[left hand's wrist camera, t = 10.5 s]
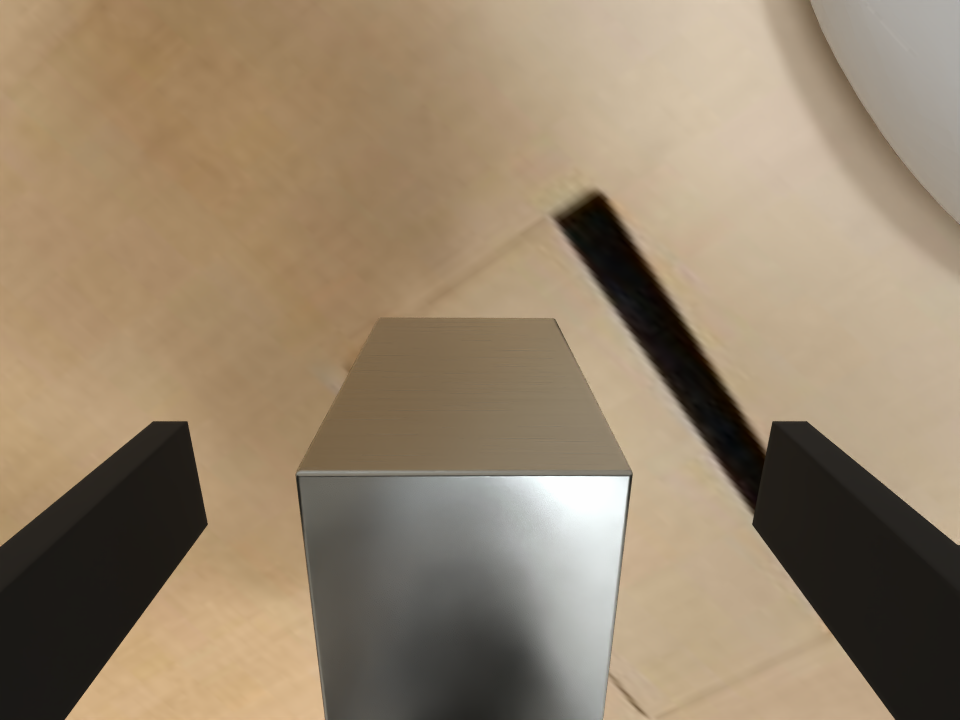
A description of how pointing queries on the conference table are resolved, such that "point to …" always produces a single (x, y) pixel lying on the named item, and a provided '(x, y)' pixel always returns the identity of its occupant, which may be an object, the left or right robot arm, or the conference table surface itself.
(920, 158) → the projector
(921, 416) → the conference table surface
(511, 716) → the bar
